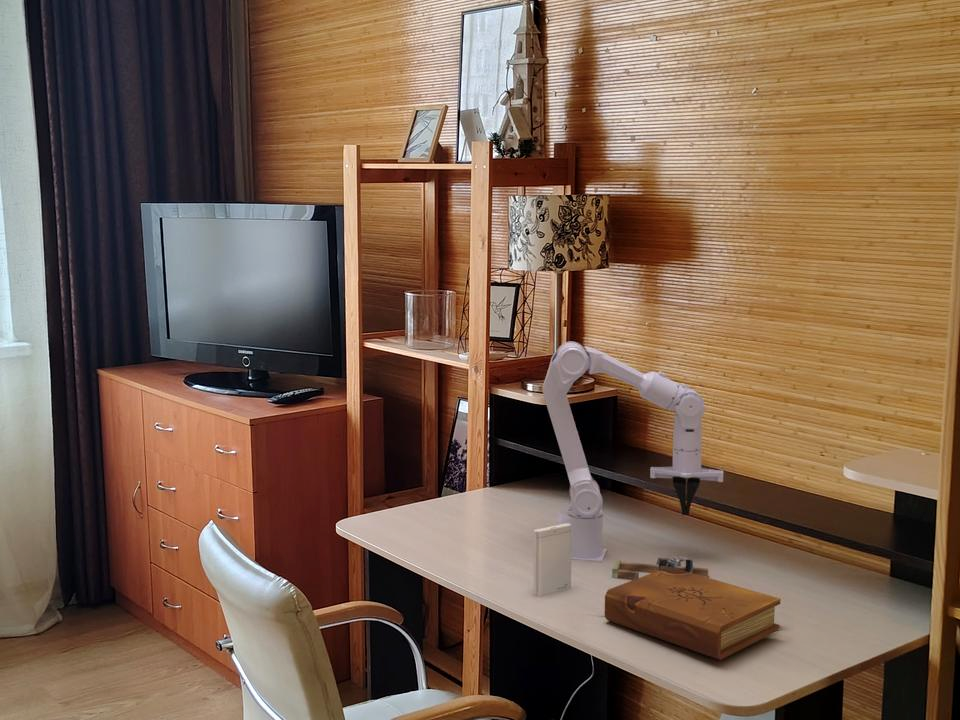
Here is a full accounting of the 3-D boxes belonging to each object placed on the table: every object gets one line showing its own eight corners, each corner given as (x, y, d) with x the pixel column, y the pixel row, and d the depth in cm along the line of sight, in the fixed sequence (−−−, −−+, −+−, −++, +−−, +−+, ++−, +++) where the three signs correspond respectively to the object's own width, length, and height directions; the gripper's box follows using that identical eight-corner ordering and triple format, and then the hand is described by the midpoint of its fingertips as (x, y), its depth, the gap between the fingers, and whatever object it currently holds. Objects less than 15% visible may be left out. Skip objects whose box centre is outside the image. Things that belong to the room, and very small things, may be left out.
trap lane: (609, 586, 200) (609, 576, 200) (618, 562, 215) (618, 552, 214) (706, 594, 196) (706, 583, 196) (708, 568, 210) (709, 558, 210)
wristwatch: (665, 581, 205) (665, 557, 204) (688, 577, 207) (688, 553, 206) (673, 587, 202) (674, 562, 201) (696, 583, 204) (697, 558, 203)
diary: (604, 622, 183) (604, 590, 183) (668, 596, 196) (669, 566, 195) (717, 661, 167) (718, 626, 166) (779, 630, 180) (780, 597, 179)
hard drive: (572, 589, 199) (572, 524, 197) (537, 597, 194) (538, 532, 193) (566, 586, 200) (567, 522, 199) (532, 595, 195) (532, 530, 194)
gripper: (649, 450, 212) (648, 516, 213) (723, 454, 208) (721, 521, 210) (652, 443, 218) (651, 507, 220) (724, 447, 215) (722, 512, 217)
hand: (685, 513), depth 216 cm, fingers closed
